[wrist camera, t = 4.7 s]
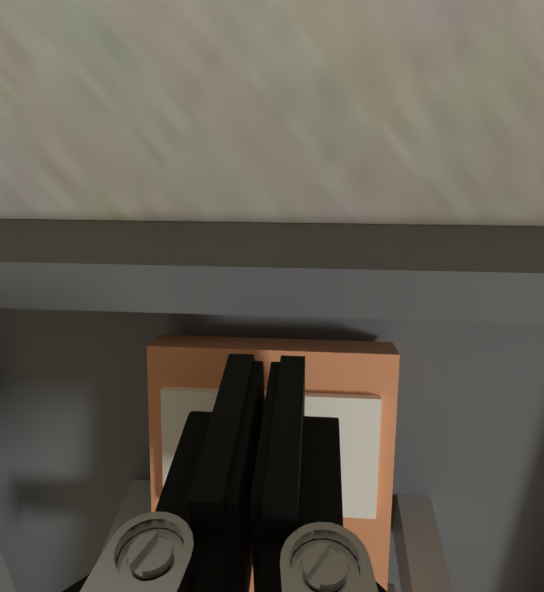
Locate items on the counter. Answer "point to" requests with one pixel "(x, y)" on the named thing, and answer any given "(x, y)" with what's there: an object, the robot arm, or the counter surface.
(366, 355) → the rocker
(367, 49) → the counter surface
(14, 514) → the breaker panel
